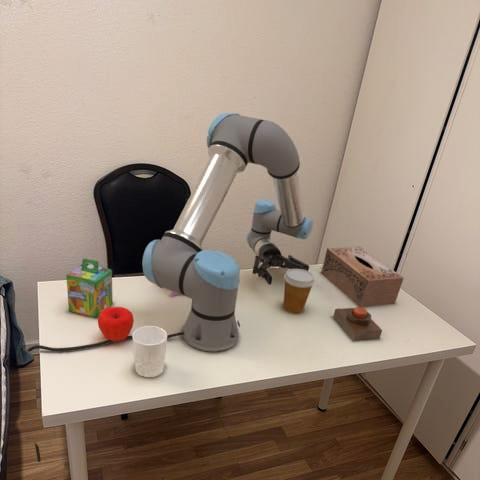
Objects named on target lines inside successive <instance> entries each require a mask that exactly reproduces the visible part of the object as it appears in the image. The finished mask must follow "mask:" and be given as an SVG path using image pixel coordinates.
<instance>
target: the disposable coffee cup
mask: <svg viewBox="0 0 480 480" xmlns="http://www.w3.org/2000/svg"><path fill="white" fill-rule="evenodd" d="M283 278H284V288H283V289H284V291H283V309H284V310H285V312H288V313H291V314H301V313H302V312H303V311H304V309H305V306H306V303H307V301H308V298H309V295H310V293H311V290H312V287H313V285H314V284H315V282H316V280H315V275H314V274H313V273H312V272H311V271H309V270H308V271H306V270H303V269H287V270H286V273H285V274H284V276H283Z"/></svg>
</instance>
